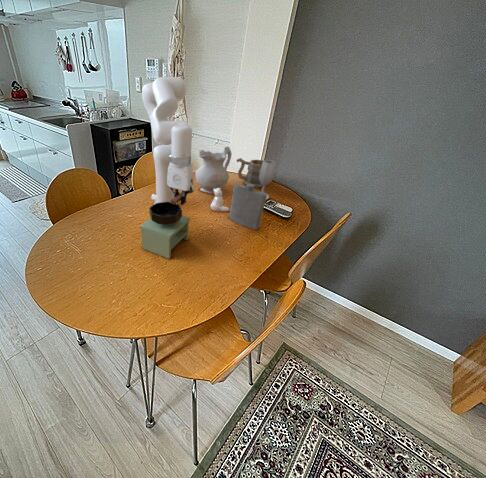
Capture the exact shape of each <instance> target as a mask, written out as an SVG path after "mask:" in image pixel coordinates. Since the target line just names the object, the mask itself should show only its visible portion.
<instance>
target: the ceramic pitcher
mask: <svg viewBox="0 0 486 478" xmlns="http://www.w3.org/2000/svg"><path fill="white" fill-rule="evenodd" d="M198 151H199V152H198V156H199V157H198V158H200V159H202V160H203V164H202V166H200V167H198V169H197V170H195V181H196V183H197V185H198V186H199V187H200V189H199V191H200V192H204V193H207V194H209V195H215V194H214V191H213V190H214V188H215V189H216V188H220V189H221V190H222V189H223V188H224V187H225V186H226V185H227V183H228V182H229V178H230V174H229V172H228V167H229V165H230V163H231V159H232V150H231V147H230V146H225V147H224V149H223V151H222V152H211V151H210V150H207V151H205V149H200V150H198ZM224 163H225V164H224Z"/></svg>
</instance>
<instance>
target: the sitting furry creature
mask: <svg viewBox="0 0 486 478" xmlns="http://www.w3.org/2000/svg"><path fill="white" fill-rule="evenodd" d="M213 191H214V194H213V195H214V197H213V200H212V201H211V203H210V209H211V210H212V211H213V212H221V213H222V212H223V213H228V212H230V209H229V207H228V206H224V204H223V203H224V199H223V190H222V188H221V189H220V188H216V189H215V188H214V190H213Z"/></svg>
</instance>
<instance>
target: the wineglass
mask: <svg viewBox="0 0 486 478" xmlns="http://www.w3.org/2000/svg"><path fill="white" fill-rule="evenodd" d="M263 161H264V162H263V164H262V166H261V169H260V172H259V182H260V183H261V184H262V185H263V187H261V192H264V193H265V189H266V186H268V185H269V184H271V183H272V182H273V180H274V177H275V174H276V161H275V160H272V159H265V160H263ZM268 200H270V195H269V194H267V196H266V200H265V201H268Z"/></svg>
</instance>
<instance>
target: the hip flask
mask: <svg viewBox="0 0 486 478" xmlns="http://www.w3.org/2000/svg"><path fill="white" fill-rule="evenodd" d="M254 188H255V187H254V184H250V183H248V184H245V185H242V184H239V183H236V184H233V191H232V196H231V197H232V198H231V205H230V209H229V216H228V219H229V220H231V221H233V222H234V223H237V224H239V225H241V226H243V227H246V228H249V229H252V230H255V231H256V230H259V229H260V224H261V221H262V216H263V212H264V207H265V204H266V201H267V200H266V196H267V195H268V194H267V192H265V191H264V192H262V191H258V190H256V189H254Z"/></svg>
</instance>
